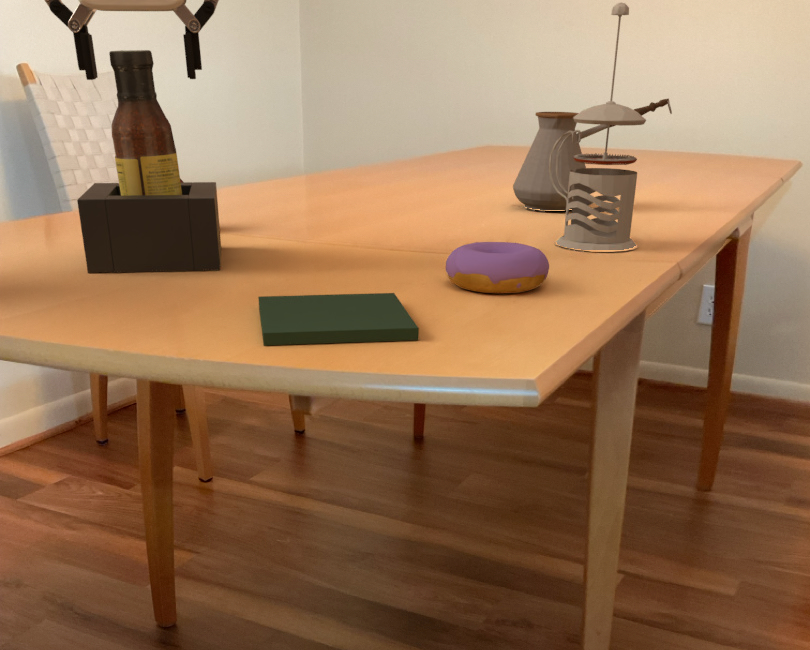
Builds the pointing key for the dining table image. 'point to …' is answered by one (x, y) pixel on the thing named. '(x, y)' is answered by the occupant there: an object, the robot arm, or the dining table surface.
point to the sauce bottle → (141, 130)
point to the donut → (497, 267)
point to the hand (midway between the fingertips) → (142, 79)
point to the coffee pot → (534, 172)
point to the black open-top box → (150, 229)
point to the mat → (335, 319)
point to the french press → (600, 180)
